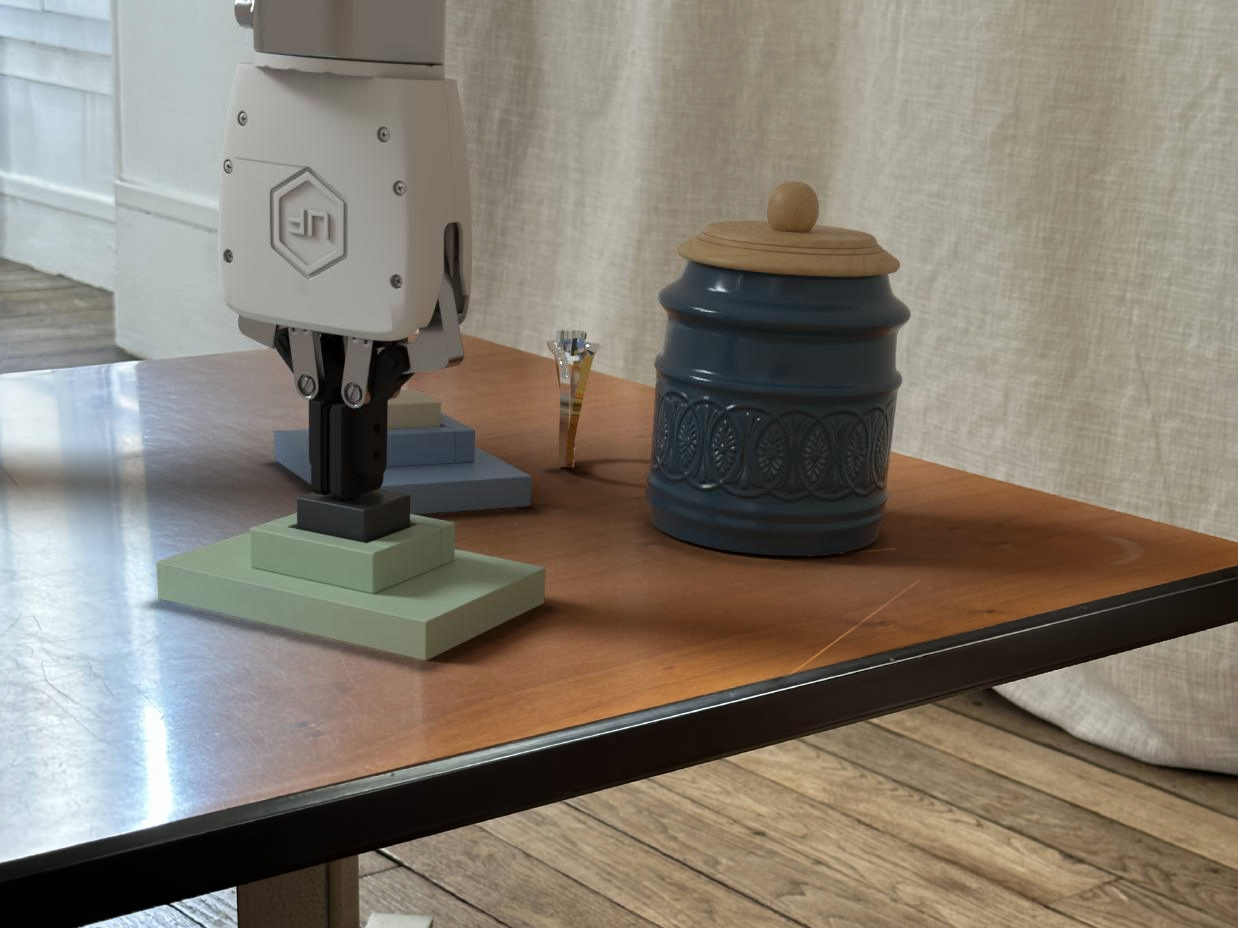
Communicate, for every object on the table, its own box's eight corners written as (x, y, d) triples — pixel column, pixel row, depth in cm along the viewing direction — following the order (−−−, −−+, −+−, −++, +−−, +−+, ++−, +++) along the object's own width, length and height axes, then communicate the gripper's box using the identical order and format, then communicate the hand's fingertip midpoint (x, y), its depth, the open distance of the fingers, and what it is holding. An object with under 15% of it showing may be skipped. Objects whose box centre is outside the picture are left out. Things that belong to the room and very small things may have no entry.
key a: (296, 535, 77) (295, 496, 76) (344, 519, 80) (344, 481, 79) (364, 550, 75) (364, 509, 75) (410, 532, 78) (411, 494, 78)
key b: (356, 423, 99) (356, 391, 98) (416, 420, 100) (416, 389, 100) (380, 436, 96) (380, 404, 95) (441, 433, 98) (441, 401, 97)
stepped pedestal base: (157, 598, 78) (153, 521, 76) (294, 550, 86) (293, 479, 84) (425, 661, 72) (426, 578, 71) (544, 603, 80) (547, 528, 79)
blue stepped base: (274, 459, 103) (272, 399, 101) (432, 450, 107) (433, 392, 106) (358, 519, 92) (357, 452, 90) (531, 506, 96) (533, 442, 95)
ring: (545, 453, 108) (551, 320, 105) (597, 456, 108) (604, 323, 105) (534, 479, 102) (540, 338, 99) (589, 482, 102) (597, 342, 99)
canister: (899, 568, 89) (945, 200, 82) (644, 553, 89) (668, 183, 81) (867, 505, 101) (906, 179, 94) (642, 492, 101) (663, 164, 93)
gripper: (137, 16, 69) (156, 477, 77) (461, 44, 63) (447, 540, 71) (256, 22, 75) (262, 448, 83) (561, 48, 69) (538, 504, 77)
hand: (347, 489), depth 77 cm, fingers closed
